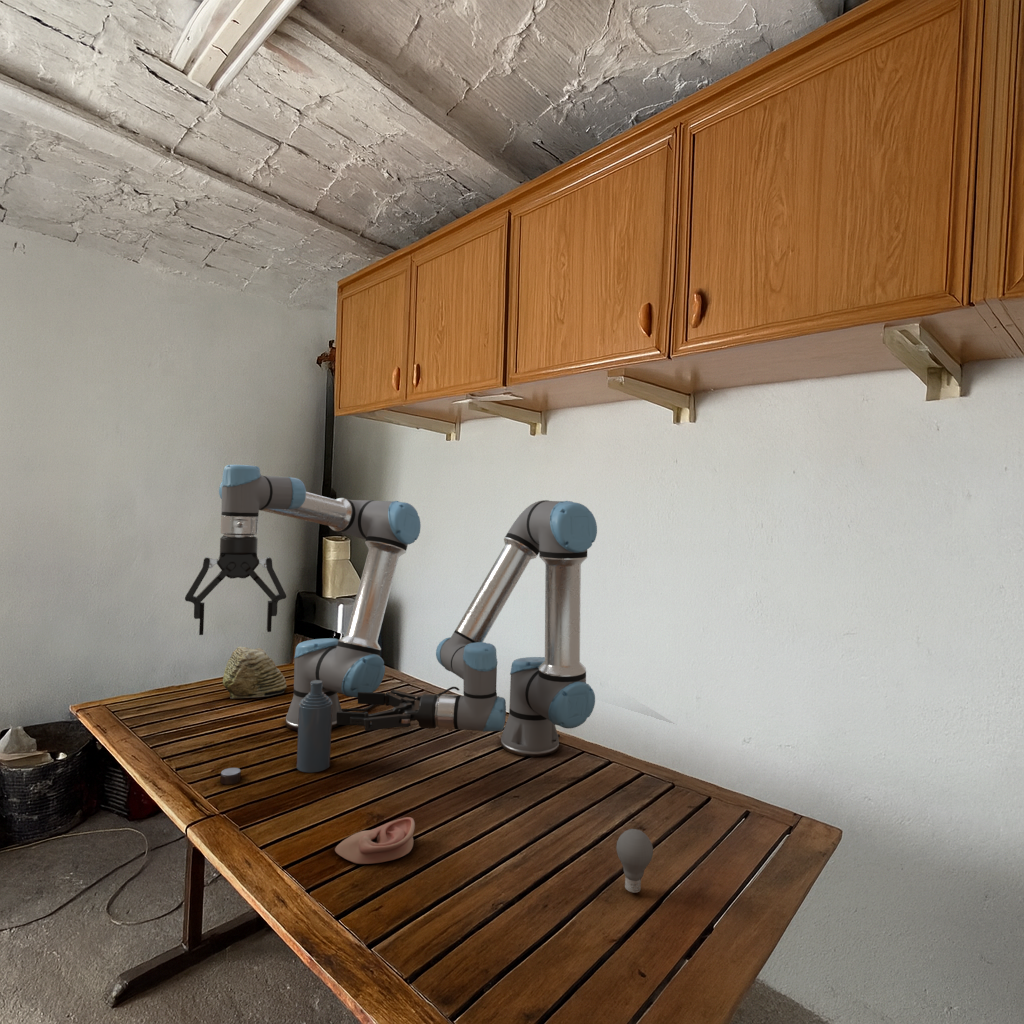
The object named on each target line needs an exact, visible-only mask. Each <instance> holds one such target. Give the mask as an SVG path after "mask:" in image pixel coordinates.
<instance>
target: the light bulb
mask: <svg viewBox="0 0 1024 1024" xmlns="http://www.w3.org/2000/svg"><path fill="white" fill-rule="evenodd" d="M615 849H616V854H617V857H618V859H619V861H620V863H621V865H622V867H623V873H624V874H623V875H624V876H625V878H624V888H625V890H627V891H628V892H630V893H634V894H635V893H639V892H640V891H641V889H642V887H641V886H642V879H643V877H644V875H645V871H646V868H647V867H648V866H649V864H650V863H651V861H652V859H653V855H654V847H653V843H652V841H651V838H649V836H648V835H647V834H646V833H645V832H643V831H642V830H641V829H636V828H629V829H627V830H625V831H623V832H622V833H621V834H620V835H619V837H618V839H617V841H616V847H615Z"/></svg>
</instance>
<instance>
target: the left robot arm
mask: <svg viewBox="0 0 1024 1024" xmlns="http://www.w3.org/2000/svg"><path fill="white" fill-rule="evenodd" d="M221 479H222V480H221V483H220V484H219V487H218V488H219V489H218V494H219V498H220V499H221V508H220V509H221V515H220V534H222V535H221V537H219V556H218V558H213V557H212V558H210V557H209V556H205V557H204V558H203V562H202V566H201V569H200V571H199V573H198V574H197V576H196V577H195V579H194V581H193V583H192V584H191V585H190V588H189V589H188V592H187V593H186V595H185V597H184V601H185V602H189V603H192V604H193V618H194V620H199V625H198V626H199V630H198V635H199V636H203V635H204V630H205V629H204V626H205V625H204V624H205V602H203V601H204V600H205V598H207V596H208V595H209V594H210V593H212V591H213V590H214V589H215V588H217V586H218V585H219V584H220V583H221V582H222V581H223V580H224V579H225V578H226V577H227V579H228V578H229V579H237V578H239V579H246V578H249V577H250V578H251V579H252V580H253V581H254V582H255V583H256V584H257V586H258V587H259V588H260V589H261V590H262V591H263V592H264V593H265V594H266V596H267V598H269V599H270V600H267V610H266V611H267V612H266V631H267V633H272V621H273V617H277V615H278V603H279V602H280V601H282V600H285V599H286V598H287V594H286V592H285V590H284V588H283V586H282V584H281V582H280V580H279V578H278V575H277V574H276V571H275V570H274V567H273V559H272V558H271V557H270V556H266V557H264V558H258V557H259V556H258V544H259V543H258V540H259V539H258V537H257V536H256V535H258V534H259V514H260V511H262V512H266V513H270V514H275V515H279V516H283V517H288V518H293V519H297V520H302V521H305V522H310V523H315V524H320V525H324V526H328V527H329V528H330V529H331V530H332V531H334V532H338V533H342V534H346V535H348V536H352V537H355V538H358V539H361V540H364V544H365V545H366V547H367V550H368V551H367V555H366V559H365V563H364V567H363V570H362V574H361V577H360V581H359V585H358V589H357V593H356V596H355V599H354V603H353V608H352V611H351V615H350V619H349V622H348V626H347V629H346V632H345V635H344V636H342V637H341V638H339V639H338V638H335V637H333V638H332V637H329V638H315V639H308V640H304V641H302V642H299V643H298V644H297V645H296V646H295V652H294V653H295V654H294V656H293V659H294V661H293V662H294V663H293V664H294V668H293V695H292V696H293V697H292V699H291V702H290V704H289V708H288V711H287V713H286V715H285V726H286V728H287V729H289V730H291V731H294V732H295V731H296V732H298V714H299V703H300V701H301V700H302V699H303V698H304V697H306V695H307V694H308V693H309V692H310V686H311V685H310V683H311V681H314V680H321V681H323V685H322V692H324V694H326V695H327V696H328V697H329V698H330V699H331V701H332V728H331V730H332V729H335V728H337V727H339V726H340V725H337V712H338V711H340V712H367V711H369V710H370V709H372V708H373V707H375V706H376V705H372V704H369V706H367V707H364V708H342V706H341V702H340V699H339V695H338V694H340V695H344V696H346V697H349V698H357V699H358V692H374V693H375V692H376V691H377V690H378V688H380V686H381V684H382V682H383V680H384V676H385V673H386V666H385V660H384V659H383V658H382V657H381V651H382V648H381V646H380V644H379V642H378V641H379V636H380V633H381V629H382V624H383V621H384V617H385V613H386V609H387V605H388V601H389V597H390V594H391V590H392V587H393V582H394V578H395V575H396V570H397V567H398V562H399V559H400V557H402V556H403V555H404V554H406V553H407V549H408V546H409V545H411V544H414V542H416V541H417V540H418V538H419V537H420V534H421V529H422V528H421V527H422V526H421V518H420V516H419V513H418V510H417V509H416V508H415V507H414V506H413V505H412V504H411V503H408V502H405V501H399V500H394V501H393V500H392V501H391V500H373V499H349V498H345V497H339V498H336V499H335V498H331V497H327V496H323V495H320V494H316V493H312V492H308V491H307V488H306V486H305V484H304V482H303V480H301V479H300V478H298V477H291V476H275V475H262V474H261V468H260V467H259V466H257V465H251V464H250V465H249V464H227V465H225V466H224V468H223V471H222V478H221ZM215 565H217V566H218V568H219V569H220V571H219V572H218V573H217V575H215V577H213V579H212V580H211V581H210V582H209V583H208V584H207V585H206V586H205V587H204V588H203V589H202V590H201V591H200V592H199V594H198V595H197V596H196V595H195V594H196V592H197V590H198V588H199V587H200V586H201V584H202V582H203V580H204V578H205V577H206V575H207V573H208V572H209V569H212V568H213V567H214V566H215ZM259 565H261V566H262V568H264V569H266V570H267V573H268V575H269V577H270V579H271V581H272V583H273V585H274V587H275V589H276V591H277V594H275V592H273V590H272V589H271V588H270V587H269V586H268V585H267V584H266V583H265V581H264V580H263V579H262V578H261V577H260V576H259V574H258V573H257V572H256V571H255V570H256V568H258V566H259ZM451 690H456V691H458V692H459V691H460V688H459V687H457V686H450V687H449V688H447V689H445V690H444V691H441V692H439V693H437V695H438V696H439V697H440V696H441V695H442V694H446V693H448V692H449V691H451ZM385 704H386V701H385Z"/></svg>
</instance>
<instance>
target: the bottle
mask: <svg viewBox="0 0 1024 1024" xmlns="http://www.w3.org/2000/svg"><path fill="white" fill-rule="evenodd" d="M310 685H311V686H310V692H309V693H308V694H307V695H306V697H304V698H303V699H302V700H301V701H300V703H299V714H298V731H297V741H296V743H297V744H296V747H297V748H296V769H297V770H298V771H300V772H301V773H302V772H303V773H309V774H311V773H319V772H322V771H323V772H324V771H325V770H327V769H328V768H329V767H330V766H331V753H332V750H331V749H332V729H331V728H332V701H331V699H330V698H329V697H328V696H327V695H326V694H324V692H322V685H323V681H321V680H314V681H311V683H310Z"/></svg>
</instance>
